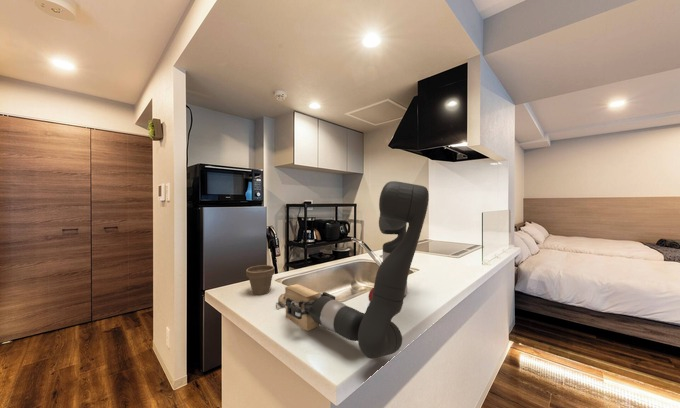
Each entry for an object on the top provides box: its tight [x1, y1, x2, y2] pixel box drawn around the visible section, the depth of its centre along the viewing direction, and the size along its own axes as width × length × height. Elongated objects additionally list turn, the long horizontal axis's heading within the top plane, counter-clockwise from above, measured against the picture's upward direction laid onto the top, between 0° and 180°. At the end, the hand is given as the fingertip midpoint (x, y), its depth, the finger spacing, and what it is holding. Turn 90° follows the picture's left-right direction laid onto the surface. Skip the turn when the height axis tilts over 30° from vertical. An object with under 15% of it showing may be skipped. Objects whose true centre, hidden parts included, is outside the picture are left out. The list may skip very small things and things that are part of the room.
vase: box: [275, 293, 286, 310], centre depth 91 cm, size 5×5×6 cm
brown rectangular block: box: [284, 283, 320, 332], centre depth 79 cm, size 4×12×10 cm, turn 43°
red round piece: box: [368, 287, 374, 302], centre depth 89 cm, size 6×6×8 cm
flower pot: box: [245, 264, 276, 296], centre depth 104 cm, size 12×11×10 cm
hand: (298, 297), depth 80 cm, fingers open, 8 cm apart
